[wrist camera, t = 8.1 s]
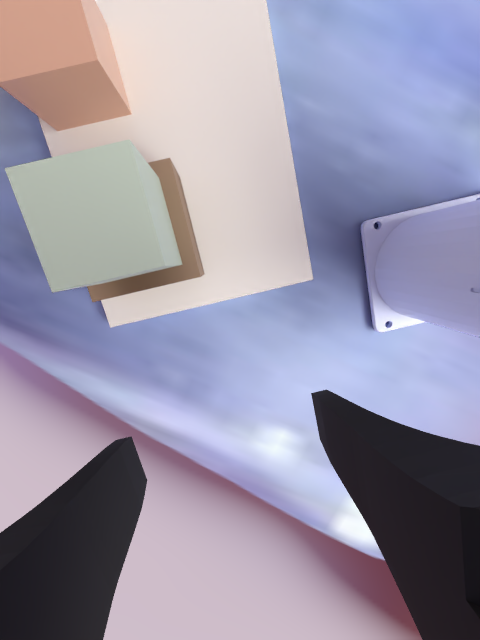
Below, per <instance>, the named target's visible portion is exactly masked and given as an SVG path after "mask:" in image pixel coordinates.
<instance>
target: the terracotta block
mask: <svg viewBox="0 0 480 640" xmlns="http://www.w3.org/2000/svg"><path fill="white" fill-rule="evenodd" d="M0 87H1V88H3V89H4V90H5V91H7V92H8V93H9V94H10V95H12V96H13V97H14V98H16V99H17V100H18V101H19V102H21V103H22V104H23V105H24V106H26V107H27V108H28V109H30V110H31V111H32V112H33V113H35V114H36V115H37V116H39V117H40V118H41V119H42V120H44V121H45V122H46V123H47V124H49V125H50V126H51V127H53V128H54V129H55V130H56V131H61V130H66V129H70V128H75V127H79V126H83V125H88V124H92V123H96V122H101V121H105V120H109V119H114V118H118V117H122V116H127V115H131V114H132V113H131V109H130V106H129V102H128V98H127V95H126V91H125V87H124V84H123V80H122V77H121V73H120V69H119V66H118V62H117V59H116V55H115V51H114V48H113V44H112V41H111V37H110V33H109V30H108V26H107V23H106V21H105V19H104V17H103V15H102V13H101V11H100V9H99V7H98V5H97V3H96V1H95V0H0Z"/></svg>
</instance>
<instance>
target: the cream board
mask: <svg viewBox="0 0 480 640" xmlns="http://www.w3.org/2000/svg"><path fill="white" fill-rule="evenodd" d="M95 1H96V3H97V5H98V7H99V9H100V11H101V13H102V15H103V17H104V19H105V21H106V23H107V26H108V30H109V33H110V37H111V41H112V44H113V48H114V51H115V55H116V59H117V62H118V66H119V69H120V73H121V77H122V80H123V84H124V87H125V91H126V95H127V98H128V102H129V106H130V109H131V113H132V114H131V115H127V116H122V117H118V118H114V119H109V120H105V121H101V122H96V123H92V124H88V125H83V126H79V127H75V128H70V129H66V130H61V131H56V130H55V129H54V128H53V127H51V126H50V125H49V124H47V123H46V122H45V121H44V120H42V119H41V118H40V117H39V116H38V118H39V121H40V124H41V127H42V130H43V133H44V136H45V139H46V142H47V145H48V148H49V150H50V153H51V156H52V157H55V156H60V155H64V154H68V153H73V152H77V151H81V150H86V149H90V148H94V147H99V146H103V145H107V144H111V143H116V142H120V141H124V140H129V139H130V141H131V142H132V143H133V145H134V146H135V147H136V148H137V150H138V151H139V152H140V154H141V155H142V156H143V158H144V159H145V160H146V161H147V163H149V162H153V161H158V160H162V159H166V158H170V159H171V161H172V163H173V165H174V166H175V168H176V170H177V172H178V174H179V176H180V179H181V183H182V187H183V191H184V195H185V199H186V203H187V207H188V211H189V214H190V218H191V222H192V226H193V230H194V234H195V238H196V242H197V246H198V250H199V254H200V258H201V262H202V266H203V269H204V273H205V274H204V275H203V276H201V277H198V278H194V279H189V280H185V281H181V282H177V283H172V284H168V285H164V286H160V287H155V288H151V289H147V290H143V291H138V292H134V293H130V294H126V295H121V296H117V297H113V298H109V299H104V300H101V302H102V305H103V308H104V310H105V313H106V316H107V319H108V322H109V325H110V328H111V327H115V326H119V325H123V324H128V323H132V322H136V321H140V320H145V319H149V318H153V317H157V316H162V315H166V314H170V313H174V312H178V311H183V310H187V309H191V308H195V307H200V306H204V305H208V304H212V303H217V302H221V301H225V300H229V299H234V298H238V297H242V296H246V295H250V294H255V293H259V292H263V291H267V290H272V289H276V288H280V287H284V286H289V285H293V284H297V283H301V282H306V281H310V280H313V275H312V269H311V263H310V257H309V251H308V245H307V239H306V233H305V227H304V221H303V216H302V210H301V204H300V198H299V192H298V186H297V180H296V174H295V168H294V162H293V156H292V150H291V144H290V139H289V133H288V127H287V121H286V115H285V109H284V103H283V97H282V91H281V85H280V79H279V73H278V68H277V62H276V56H275V50H274V44H273V38H272V32H271V26H270V20H269V14H268V8H267V2H266V0H95Z"/></svg>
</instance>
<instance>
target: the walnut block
mask: <svg viewBox="0 0 480 640" xmlns="http://www.w3.org/2000/svg"><path fill="white" fill-rule="evenodd" d="M148 164H149V165H150V167H151V168H152V169H153V170H154V172H155V173H156V174H157V176H158V177H159V180H160V183H161V187H162V191H163V194H164V198H165V202H166V206H167V209H168V213H169V217H170V220H171V224H172V228H173V231H174V235H175V239H176V242H177V246H178V250H179V253H180V257H181V261H182V264H183V265H179V266H175V267H170V268H166V269H162V270H158V271H153V272H149V273H145V274H141V275H136V276H132V277H128V278H124V279H120V280H115V281H111V282H107V283H103V284H97V285H92V286H87V288H88V291H89V293H90V296H91V299H92V302H96V301H100V300H104V299H109V298H113V297H117V296H121V295H126V294H130V293H134V292H138V291H143V290H147V289H151V288H155V287H160V286H164V285H168V284H172V283H177V282H181V281H185V280H189V279H194V278H198V277H201V276H203V275H204V274H205V273H204V269H203V266H202V262H201V258H200V254H199V250H198V246H197V242H196V238H195V234H194V230H193V226H192V222H191V218H190V214H189V211H188V207H187V203H186V199H185V195H184V191H183V187H182V183H181V179H180V176H179V174H178V172H177V170H176V168H175V166H174V165H173V163H172V161H171V159H170V158H166V159H162V160H158V161H153V162H149V163H148Z"/></svg>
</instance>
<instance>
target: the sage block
mask: <svg viewBox="0 0 480 640" xmlns="http://www.w3.org/2000/svg"><path fill="white" fill-rule="evenodd" d="M5 171H6V173H7V176H8V179H9V181H10V184H11V187H12V189H13V192H14V194H15V197H16V200H17V202H18V205H19V207H20V210H21V213H22V215H23V218H24V220H25V223H26V226H27V228H28V231H29V234H30V236H31V239H32V241H33V244H34V247H35V249H36V252H37V254H38V257H39V260H40V262H41V265H42V268H43V270H44V273H45V275H46V278H47V281H48V283H49V286H50V288H51V291H52V293H53V292H59V291H64V290H70V289H75V288H81V287H86V286H92V285H97V284H103V283H107V282H111V281H115V280H120V279H124V278H128V277H132V276H136V275H141V274H145V273H149V272H153V271H158V270H162V269H166V268H170V267H175V266H179V265H183V264H182V261H181V257H180V253H179V250H178V246H177V242H176V239H175V235H174V231H173V228H172V224H171V220H170V217H169V213H168V209H167V206H166V202H165V198H164V194H163V191H162V187H161V183H160V180H159V177H158V176H157V174H156V173H155V172H154V170H153V169H152V168H151V167H150V165H149V164H148V163H147V161H146V160H145V159H144V158H143V156H142V155H141V154H140V152H139V151H138V150H137V148H136V147H135V146H134V145H133V143H132V142H131V141H130V139H129V140H124V141H120V142H116V143H111V144H107V145H103V146H99V147H94V148H90V149H86V150H81V151H77V152H73V153H68V154H64V155H60V156H55V157H51V158H47V159H43V160H38V161H34V162H30V163H25V164H21V165H17V166H12V167H8V168H5Z"/></svg>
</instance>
